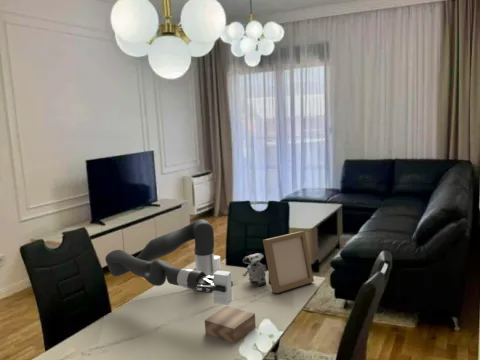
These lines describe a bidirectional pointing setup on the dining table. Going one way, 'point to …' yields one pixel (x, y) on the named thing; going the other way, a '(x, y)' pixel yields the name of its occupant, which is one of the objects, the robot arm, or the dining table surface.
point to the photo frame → (288, 261)
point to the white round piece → (217, 262)
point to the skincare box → (223, 280)
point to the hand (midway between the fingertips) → (228, 286)
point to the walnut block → (230, 324)
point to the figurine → (255, 268)
